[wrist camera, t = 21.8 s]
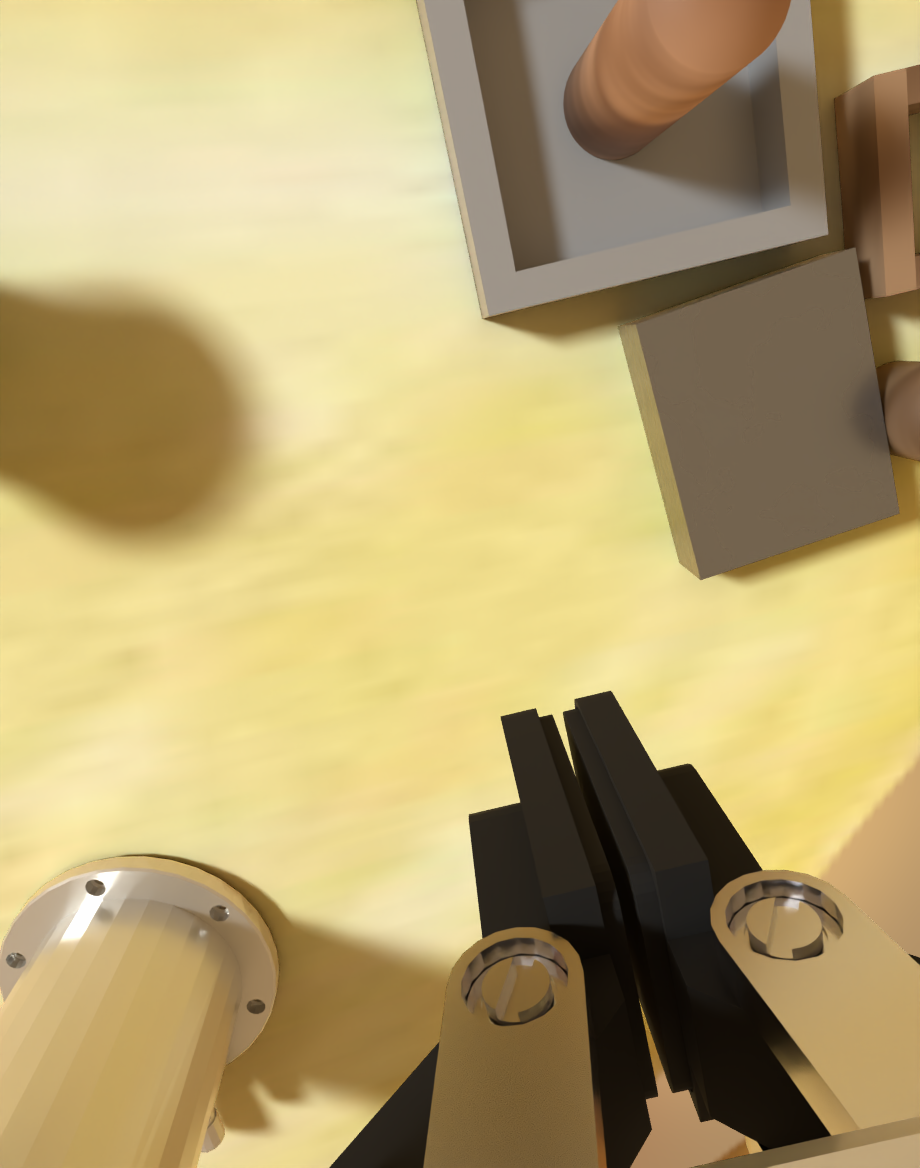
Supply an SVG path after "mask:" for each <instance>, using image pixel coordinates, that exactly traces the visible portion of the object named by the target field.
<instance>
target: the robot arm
mask: <svg viewBox="0 0 920 1168" xmlns="http://www.w3.org/2000/svg"><path fill="white" fill-rule="evenodd" d="M563 716H564V722H565V727H566V732H567V736H568V741H569V746H570V751H571V755H572V760H573V765H574V770H575V774H574V771H573V768H572V766H571V763H570V760H569V758H568V755H567V752H566V750H565V747H564V744H563V742H562V739H561V736H560V734H559V731H558V728H557V726H556V723H555V720H554V718H553V715H547V716H543V717H539V716H538V713H537V710H536V708H535V709H531V710H526V711H522V712H518V713H513V714H509V715H505V716H501V721H502V725H503V729H504V734H505V738H506V742H507V747H508V751H509V755H510V759H511V764H512V768H513V772H514V776H515V781H516V785H517V789H518V794H519V798H520V802H521V803H516V804H512V805H508V806H503V807H499V808H495V809H491V810H486V811H482V812H478V813H473V814H469V826H470V834H471V843H472V852H473V860H474V869H475V877H476V886H477V895H478V903H479V912H480V921H481V929H482V938H483V939H481V940H479V941H477V942H476V943H475V944H474V945H473V946H471V947H470V948H469V949H468V950H467V951H465V952H464V953H463V954H462V956H461V957H460V959H459V960H458V961H457V963H456V964H455V966H454V967H453V969H452V971H451V974H450V977H449V981H448V984H447V988H446V996H445V1004H444V1012H443V1019H442V1027H441V1035H440V1042H439V1043H438V1044H437V1045H436V1046H435V1047H434V1049H433V1050H432V1051H431V1052H430V1053H429V1054H428V1055H427V1057H426V1058H425V1059H424V1060H423V1061H422V1062H421V1063H420V1065H419V1066H418V1067H417V1068H416V1069H415V1070H414V1071H413V1073H412V1074H411V1075H410V1076H409V1077H408V1078H407V1079H406V1081H405V1082H404V1083H403V1084H402V1085H401V1086H400V1087H399V1089H398V1090H397V1091H396V1092H395V1093H394V1094H393V1095H392V1097H391V1098H390V1099H389V1100H388V1101H387V1102H386V1103H385V1105H384V1106H383V1107H382V1108H381V1109H380V1110H379V1111H378V1113H377V1114H376V1115H375V1116H374V1117H373V1118H372V1119H371V1121H370V1122H369V1123H368V1124H367V1125H366V1126H365V1127H364V1129H363V1130H362V1131H361V1132H360V1133H359V1134H358V1135H357V1137H356V1138H355V1139H354V1140H353V1141H352V1142H351V1143H350V1145H349V1146H348V1147H347V1148H346V1149H345V1150H344V1152H343V1153H342V1154H341V1155H340V1156H339V1157H338V1158H337V1160H336V1161H335V1162H334V1163H333V1164H332V1165H331V1166H330V1168H630V1167H631V1165H632V1163H633V1161H634V1160H635V1158H636V1156H637V1155H638V1152H639V1151H640V1149H641V1147H642V1146H643V1144H644V1142H645V1141H646V1139H647V1137H648V1135H649V1134H650V1132H651V1130H652V1128H651V1123H650V1118H649V1114H648V1109H647V1104H646V1099H649V1098H653V1097H658V1092H657V1086H656V1081H655V1076H654V1071H653V1067H652V1062H651V1057H650V1052H649V1047H648V1042H647V1037H646V1032H645V1027H644V1022H643V1017H642V1012H641V1007H640V1003H641V1006H642V1008H643V1011H644V1014H645V1017H646V1020H647V1023H648V1026H649V1029H650V1032H651V1035H652V1037H653V1040H654V1043H655V1046H656V1049H657V1052H658V1055H659V1058H660V1061H661V1063H662V1066H663V1069H664V1072H665V1075H666V1078H667V1081H668V1083H669V1086H670V1089H671V1091H672V1093H676V1092H680V1091H684V1090H689V1092H690V1095H691V1098H692V1100H693V1103H694V1106H695V1108H696V1111H697V1114H698V1116H699V1119H700V1122H704V1121H708V1120H713V1119H715V1120H717V1121H719V1122H721V1123H723V1124H725V1125H727V1126H728V1127H730V1128H732V1129H734V1130H736V1131H738V1132H740V1133H742V1134H743V1135H745V1140H746V1146H747V1149H748V1151H749V1154H748V1155H744V1156H739V1157H735V1158H731V1159H726V1160H722V1161H717V1162H713V1163H709V1164H705V1165H700V1166H695V1167H691V1168H920V958H919V957H916V956H913V955H910V954H907V953H906V952H905V951H904V950H903V949H902V948H901V947H900V946H899V945H897V943H896V942H894V941H893V940H892V939H891V938H890V937H889V936H888V935H887V934H886V933H885V932H884V931H883V930H882V929H881V928H880V927H879V926H878V925H876V924H875V923H874V922H873V921H872V920H871V919H870V918H869V917H868V916H867V915H866V914H865V913H864V912H863V911H862V910H861V909H859V908H858V907H857V906H856V905H855V904H854V903H853V902H852V901H851V900H850V899H849V898H848V897H847V896H846V895H845V894H843V893H842V892H840V891H839V890H838V889H836V888H835V887H833V886H832V885H831V884H829V883H827V882H825V881H823V880H821V879H818V878H816V877H813V876H811V875H808V874H804V873H799V872H793V871H788V870H762V868H761V867H760V865H759V864H758V862H757V861H756V859H755V858H754V856H753V855H752V853H751V852H750V850H749V849H748V847H747V846H746V844H745V843H744V841H743V840H742V838H741V837H740V835H739V834H738V832H737V831H736V829H735V828H734V826H733V825H732V823H731V822H730V820H729V819H728V817H727V816H726V814H725V813H724V811H723V810H722V808H721V807H720V805H719V804H718V802H717V801H716V799H715V798H714V796H713V795H712V793H711V792H710V790H709V789H708V787H707V786H706V784H705V783H704V781H703V780H702V778H701V777H700V775H699V774H698V772H697V771H696V769H695V768H694V767H693V766H692V765H691V764H684V765H680V766H676V767H671V768H667V769H663V770H658V771H657V770H656V768H655V766H654V764H653V763H652V761H651V759H650V758H649V756H648V754H647V752H646V751H645V749H644V747H643V745H642V744H641V742H640V740H639V738H638V737H637V735H636V733H635V731H634V730H633V728H632V726H631V724H630V723H629V721H628V719H627V717H626V716H625V714H624V712H623V710H622V709H621V707H620V705H619V703H618V702H617V700H616V698H615V696H614V695H613V693H612V692H611V691H608V692H603V693H599V694H595V695H590V696H586V697H582V698H578V699H575V709H573V710H569V711H564V712H563ZM575 775H576V776H575ZM278 978H279V963H278V955H277V949H276V946H275V944H274V941H273V938H272V935H271V933H270V930H269V928H268V927H267V925H266V924H265V922H264V921H263V919H262V917H261V916H260V914H259V913H258V911H257V910H256V909H255V908H254V907H253V906H252V905H251V904H250V903H249V902H248V901H247V900H246V899H245V898H244V897H243V895H242V894H241V893H239V892H238V891H236V890H235V889H234V888H232V887H231V886H229V885H228V884H227V883H225V882H224V881H222V880H221V879H219V878H217V877H215V876H213V875H211V874H209V873H207V872H205V871H203V870H201V869H199V868H197V867H193V866H190V865H187V864H183V863H180V862H177V861H173V860H169V859H161V858H154V857H146V856H131V857H113V858H108V859H103V860H97V861H92V862H89V863H86V864H83V865H81V866H78V867H75V868H73V869H70V870H67V871H65V872H64V873H62V874H60V875H59V876H57V877H56V878H54V879H52V880H51V881H49V882H47V883H46V884H45V885H43V886H42V887H41V888H40V889H39V890H38V891H37V892H36V893H35V894H34V895H33V896H32V897H31V898H30V899H29V900H28V901H27V902H26V904H25V905H24V907H23V908H22V909H21V911H20V912H19V913H18V915H17V916H16V917H15V919H14V920H13V922H12V924H11V926H10V928H9V930H8V932H7V933H6V935H5V937H4V939H3V942H2V946H1V950H0V990H1V993H2V997H3V1001H4V1003H3V1005H2V1007H1V1008H0V1168H197V1164H198V1161H199V1157H200V1153H201V1152H209V1151H211V1150H213V1149H215V1148H216V1147H217V1146H218V1145H219V1144H220V1143H221V1142H222V1140H223V1138H224V1135H225V1128H224V1126H223V1124H222V1121H221V1119H220V1117H219V1114H218V1112H217V1110H216V1109H215V1108H214V1106H215V1102H216V1099H217V1095H218V1091H219V1087H220V1083H221V1080H222V1076H223V1072H224V1068H225V1066H226V1065H227V1064H229V1063H231V1062H233V1061H234V1060H235V1059H236V1058H237V1057H239V1056H240V1055H241V1054H242V1053H243V1052H245V1051H246V1050H247V1049H248V1048H249V1047H250V1046H251V1045H252V1044H253V1042H254V1041H255V1040H256V1039H257V1037H258V1036H259V1035H260V1034H261V1032H262V1031H263V1029H264V1027H265V1025H266V1023H267V1021H268V1019H269V1017H270V1015H271V1013H272V1009H273V1005H274V1001H275V997H276V993H277V987H278ZM639 1000H640V1002H639Z"/></svg>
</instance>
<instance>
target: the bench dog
mask: <svg viewBox="0 0 920 1168" xmlns="http://www.w3.org/2000/svg"><path fill="white" fill-rule="evenodd" d="M876 374H877V380H878V386H879V392H880V398H881V404H882V410H883V416H884V422H885V428H886V434H887V440H888V446H889V452H890V454H891V455H896V456H900V457H905V458H909V459H913V460H918V461H920V362H915V361H896V362H890V363H887V364H884V365H882V366H880V367H878V368H876Z"/></svg>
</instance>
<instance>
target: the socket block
mask: <svg viewBox="0 0 920 1168" xmlns="http://www.w3.org/2000/svg"><path fill="white" fill-rule="evenodd" d="M834 103H835V117H836V131H837V145H838V158H839V172H840V186H841V200H842V214H843V228H844V242H845V249H849V248H854V247H855V248H856V254H857V260H858V266H859V272H860V278H861V284H862V290H863V296H864V299H869V298H878V297H887V296H891V295H895V294H899V293H904V292H908V291H912V290H916V289H920V253H919V254H915V245H914V224H913V202H912V181H911V159H910V138H909V117H908V115H911V114H916V113H920V65H916V66H912V67H908V68H904V69H900V70H896V71H891V72H887V73H883V74H879V75H875V76H872V77H871V78H869V79H867V80H866V81H864V82H862V83H860V84H859V85H857V86H855V87H854V88H852V89H850V90H849V91H847V92H845V93H844V94H842V95H840V96H838V97H837V98H835V99H834Z"/></svg>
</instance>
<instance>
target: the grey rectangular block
mask: <svg viewBox="0 0 920 1168" xmlns="http://www.w3.org/2000/svg"><path fill="white" fill-rule="evenodd" d="M618 329H619V333H620V337H621V341H622V345H623V348H624V352H625V356H626V360H627V364H628V368H629V372H630V375H631V379H632V383H633V387H634V391H635V395H636V398H637V402H638V406H639V410H640V414H641V418H642V421H643V425H644V429H645V433H646V437H647V441H648V444H649V448H650V452H651V456H652V460H653V464H654V467H655V471H656V475H657V479H658V483H659V487H660V490H661V494H662V498H663V502H664V506H665V510H666V514H667V517H668V521H669V525H670V529H671V533H672V537H673V540H674V544H675V548H676V552H677V556H678V560H679V563H680V564H682V565H683V566H684V567H685V568H687V569H688V570H689V571H690V572H691V573H693V574H694V575H695V576H696V577H698V578H699V579H700V580H703V579H705V578H708V577H711V576H714V575H717V574H720V573H723V572H726V571H729V570H732V569H735V568H738V567H741V566H744V565H747V564H750V563H753V562H756V561H759V560H762V559H765V558H768V557H771V556H774V555H777V554H780V553H783V552H786V551H789V550H792V549H795V548H798V547H801V546H804V545H807V544H810V543H813V542H816V541H819V540H822V539H825V538H828V537H831V536H834V535H837V534H840V533H843V532H846V531H849V530H852V529H855V528H858V527H861V526H864V525H867V524H870V523H873V522H876V521H879V520H882V519H885V518H888V517H891V516H894V515H897V514H899V507H898V501H897V495H896V489H895V483H894V477H893V471H892V465H891V459H890V452H889V446H888V440H887V434H886V428H885V422H884V416H883V410H882V404H881V398H880V392H879V386H878V380H877V374H876V368H875V362H874V356H873V350H872V344H871V338H870V332H869V326H868V320H867V314H866V308H865V302H864V296H863V290H862V284H861V278H860V272H859V266H858V260H857V254H856V248H855V247H854V248H849V249H845V250H841V251H836V252H832V253H827V254H823V255H819V256H816V257H813V258H810V259H807V260H804V261H802V262H799V263H796V264H793V265H790V266H787V267H784V268H782V269H779V270H776V271H773V272H770V273H767V274H765V275H762V276H759V277H756V278H753V279H750V280H748V281H745V282H742V283H739V284H736V285H733V286H731V287H728V288H725V289H722V290H719V291H716V292H714V293H711V294H708V295H705V296H702V297H699V298H696V299H694V300H691V301H688V302H685V303H682V304H679V305H677V306H674V307H671V308H668V309H665V310H662V311H660V312H657V313H654V314H651V315H648V316H645V317H643V318H640V319H637V320H634V321H631V322H628V323H625V324H623V325H620V326H618Z"/></svg>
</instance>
